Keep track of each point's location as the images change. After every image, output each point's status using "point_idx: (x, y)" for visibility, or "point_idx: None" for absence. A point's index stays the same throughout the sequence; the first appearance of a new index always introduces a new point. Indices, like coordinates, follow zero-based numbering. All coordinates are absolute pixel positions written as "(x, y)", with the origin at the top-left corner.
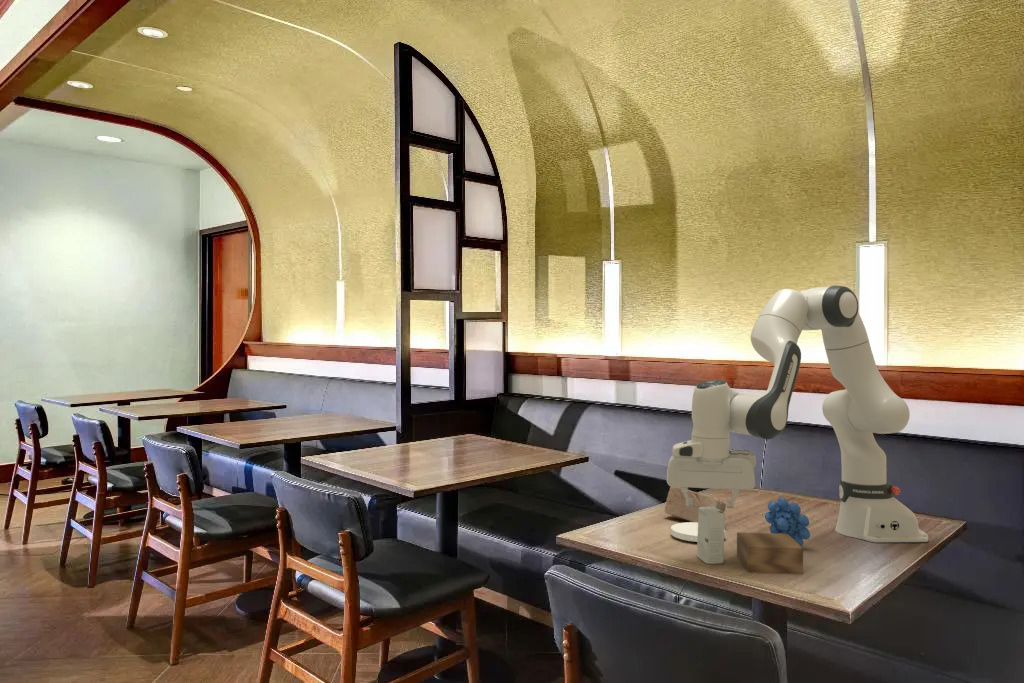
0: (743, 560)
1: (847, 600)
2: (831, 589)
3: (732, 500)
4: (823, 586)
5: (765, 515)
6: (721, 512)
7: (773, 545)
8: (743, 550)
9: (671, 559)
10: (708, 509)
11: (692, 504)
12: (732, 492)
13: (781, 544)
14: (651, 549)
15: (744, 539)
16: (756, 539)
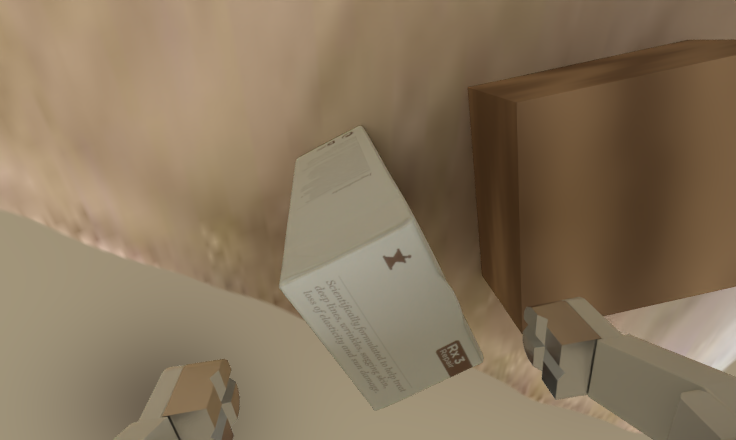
0: (484, 219)
1: None
2: (678, 338)
3: (601, 398)
4: (667, 324)
5: None
6: (461, 369)
7: (635, 284)
8: (500, 237)
9: (198, 225)
10: (368, 338)
11: (235, 415)
12: (669, 435)
13: (676, 259)
14: (56, 102)
15: (529, 235)
16: (589, 217)
